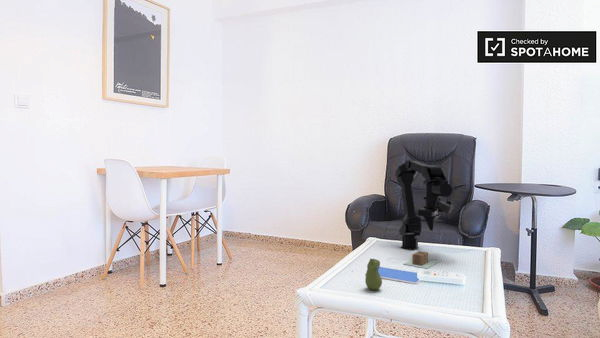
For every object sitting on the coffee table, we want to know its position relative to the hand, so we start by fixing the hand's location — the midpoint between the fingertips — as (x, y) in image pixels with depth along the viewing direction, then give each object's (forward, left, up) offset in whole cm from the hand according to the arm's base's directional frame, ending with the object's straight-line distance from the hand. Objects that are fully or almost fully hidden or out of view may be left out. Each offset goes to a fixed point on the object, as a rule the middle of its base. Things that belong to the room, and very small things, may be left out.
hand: (431, 230), depth 171 cm
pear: (0, -53, -12) cm, 54 cm away
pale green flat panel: (0, -11, -12) cm, 16 cm away
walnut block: (0, -9, -10) cm, 13 cm away
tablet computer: (-1, -34, -13) cm, 36 cm away
